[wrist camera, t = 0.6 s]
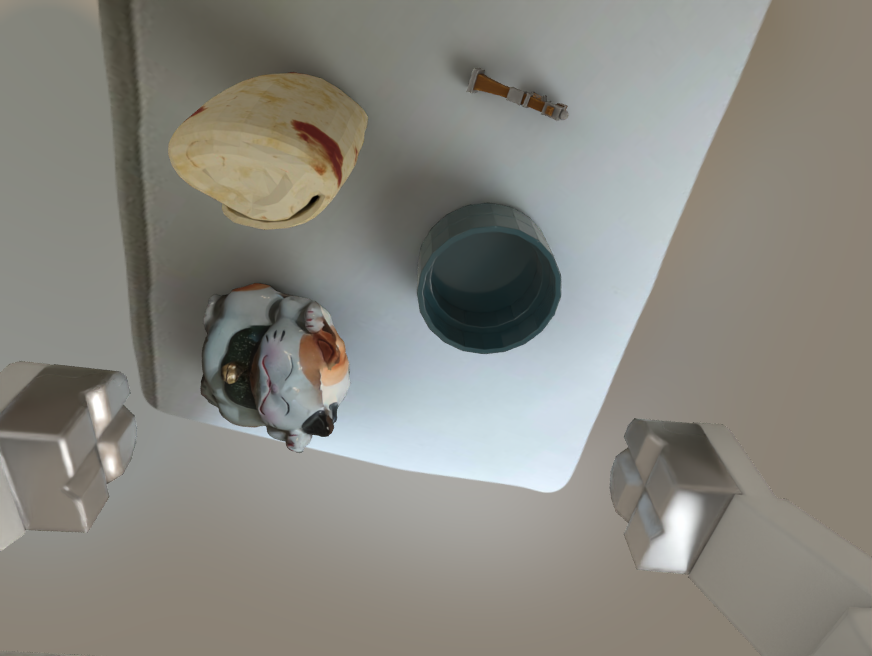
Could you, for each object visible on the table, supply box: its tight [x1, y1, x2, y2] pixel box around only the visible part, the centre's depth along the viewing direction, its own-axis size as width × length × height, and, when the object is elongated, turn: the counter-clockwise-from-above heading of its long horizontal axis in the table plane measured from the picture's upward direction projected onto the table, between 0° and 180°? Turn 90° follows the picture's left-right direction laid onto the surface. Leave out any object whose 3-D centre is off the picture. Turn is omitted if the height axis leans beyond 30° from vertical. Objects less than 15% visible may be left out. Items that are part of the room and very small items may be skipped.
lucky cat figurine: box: [201, 283, 350, 453], centre depth 53 cm, size 15×12×14 cm
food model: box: [168, 72, 368, 230], centre depth 38 cm, size 10×7×20 cm
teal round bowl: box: [417, 203, 561, 354], centre depth 52 cm, size 12×12×6 cm
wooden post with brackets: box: [466, 68, 568, 121], centre depth 45 cm, size 2×8×4 cm, turn 73°
